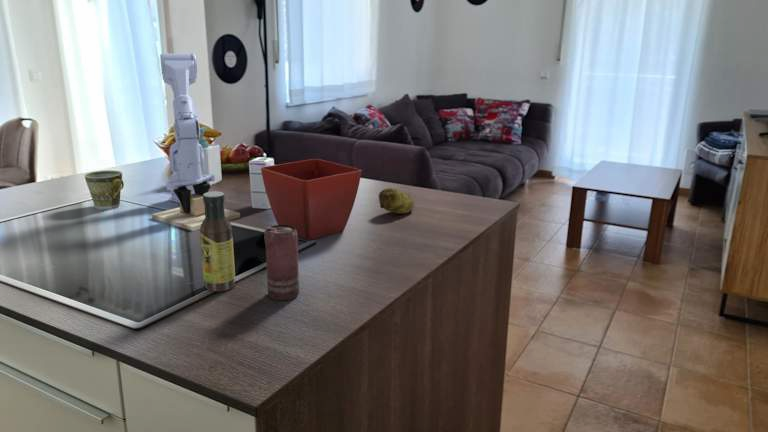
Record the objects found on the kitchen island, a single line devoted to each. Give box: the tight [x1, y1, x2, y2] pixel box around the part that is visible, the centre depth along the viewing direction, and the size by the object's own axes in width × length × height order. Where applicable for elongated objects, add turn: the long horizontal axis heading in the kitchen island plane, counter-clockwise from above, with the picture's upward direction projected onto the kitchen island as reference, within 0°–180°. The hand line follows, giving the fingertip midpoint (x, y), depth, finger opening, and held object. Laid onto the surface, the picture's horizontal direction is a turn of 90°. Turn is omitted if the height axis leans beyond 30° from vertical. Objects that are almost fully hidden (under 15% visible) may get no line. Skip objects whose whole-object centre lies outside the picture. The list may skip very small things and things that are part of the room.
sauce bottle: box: [199, 191, 236, 293], centre depth 117 cm, size 6×6×20 cm
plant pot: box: [261, 158, 362, 241], centre depth 153 cm, size 19×19×17 cm
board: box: [151, 206, 241, 232], centre depth 164 cm, size 18×16×1 cm
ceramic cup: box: [84, 169, 125, 211], centre depth 172 cm, size 13×10×10 cm
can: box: [263, 224, 300, 302], centre depth 114 cm, size 6×6×14 cm
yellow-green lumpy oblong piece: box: [378, 187, 415, 215], centre depth 171 cm, size 8×13×8 cm, turn 120°
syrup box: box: [248, 156, 275, 210], centre depth 175 cm, size 6×6×14 cm
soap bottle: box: [197, 126, 223, 187], centre depth 201 cm, size 9×9×19 cm
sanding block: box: [178, 193, 205, 217], centre depth 164 cm, size 7×4×5 cm, turn 54°
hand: (193, 210), depth 165 cm, fingers closed on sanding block, 4 cm apart
